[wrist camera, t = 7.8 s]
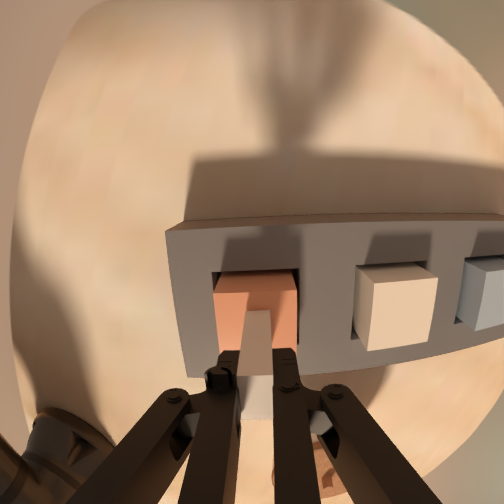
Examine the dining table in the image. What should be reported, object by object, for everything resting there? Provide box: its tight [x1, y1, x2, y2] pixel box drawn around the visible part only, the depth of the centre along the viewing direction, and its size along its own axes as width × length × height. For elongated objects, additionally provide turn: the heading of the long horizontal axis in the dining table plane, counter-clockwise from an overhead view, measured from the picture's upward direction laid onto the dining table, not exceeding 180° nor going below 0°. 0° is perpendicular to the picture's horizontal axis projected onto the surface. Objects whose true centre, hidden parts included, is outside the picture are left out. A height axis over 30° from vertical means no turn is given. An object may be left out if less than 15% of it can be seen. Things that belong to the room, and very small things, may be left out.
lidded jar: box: [272, 433, 347, 499], centre depth 25 cm, size 11×11×9 cm
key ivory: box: [352, 261, 438, 351], centre depth 21 cm, size 5×5×5 cm
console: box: [165, 213, 504, 378], centre depth 23 cm, size 32×12×5 cm, turn 93°
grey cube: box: [456, 255, 504, 331], centre depth 20 cm, size 5×5×5 cm
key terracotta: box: [213, 269, 297, 357], centre depth 21 cm, size 5×5×5 cm
